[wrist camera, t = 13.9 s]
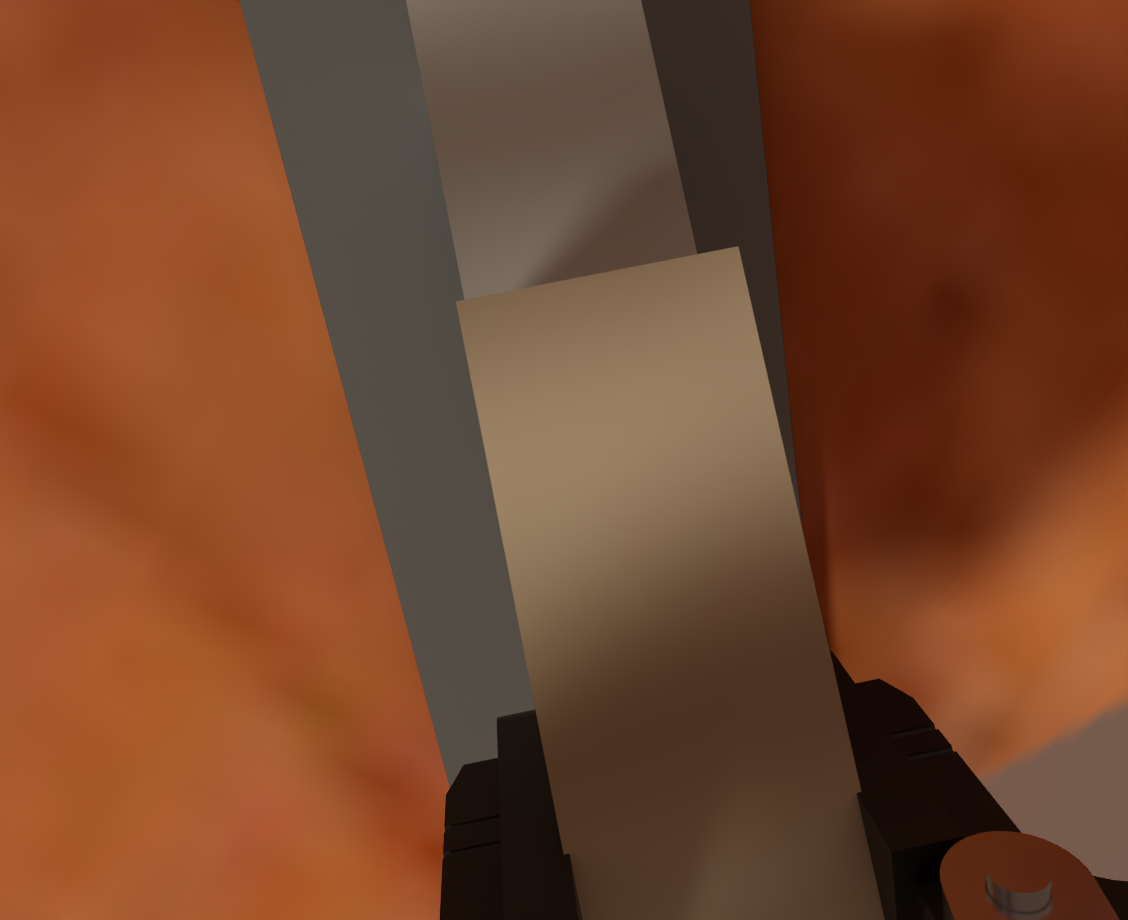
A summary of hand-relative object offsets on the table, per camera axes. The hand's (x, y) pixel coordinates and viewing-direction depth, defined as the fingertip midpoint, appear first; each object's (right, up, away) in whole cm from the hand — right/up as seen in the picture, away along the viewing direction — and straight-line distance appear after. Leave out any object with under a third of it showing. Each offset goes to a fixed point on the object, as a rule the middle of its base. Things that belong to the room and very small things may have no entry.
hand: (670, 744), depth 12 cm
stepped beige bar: (-1, +3, +2) cm, 4 cm away
